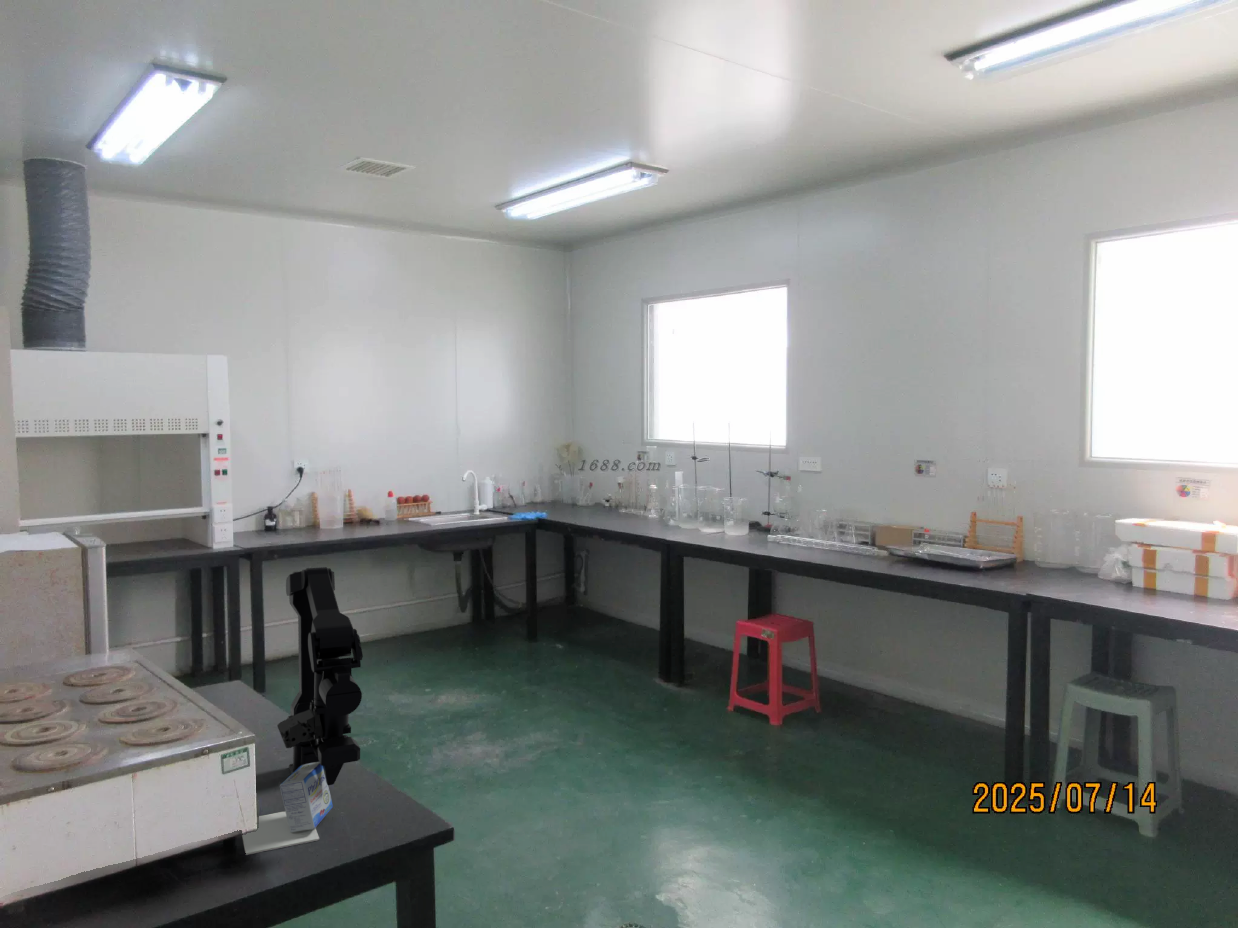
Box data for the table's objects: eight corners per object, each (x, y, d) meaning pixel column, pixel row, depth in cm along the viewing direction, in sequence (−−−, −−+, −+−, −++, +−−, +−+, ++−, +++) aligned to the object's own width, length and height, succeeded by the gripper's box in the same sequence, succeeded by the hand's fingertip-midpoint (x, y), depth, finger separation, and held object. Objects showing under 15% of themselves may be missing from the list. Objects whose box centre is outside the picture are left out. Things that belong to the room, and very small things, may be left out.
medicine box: (314, 829, 139) (303, 779, 139) (289, 833, 139) (278, 783, 139) (333, 807, 147) (323, 760, 146) (309, 811, 147) (299, 764, 147)
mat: (239, 821, 143) (239, 819, 143) (308, 808, 149) (308, 806, 149) (245, 854, 133) (245, 852, 133) (319, 839, 138) (319, 838, 138)
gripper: (274, 685, 148) (273, 771, 148) (289, 721, 131) (288, 817, 132) (339, 677, 153) (338, 760, 154) (361, 711, 137) (360, 803, 138)
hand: (330, 783), depth 144 cm, fingers closed
